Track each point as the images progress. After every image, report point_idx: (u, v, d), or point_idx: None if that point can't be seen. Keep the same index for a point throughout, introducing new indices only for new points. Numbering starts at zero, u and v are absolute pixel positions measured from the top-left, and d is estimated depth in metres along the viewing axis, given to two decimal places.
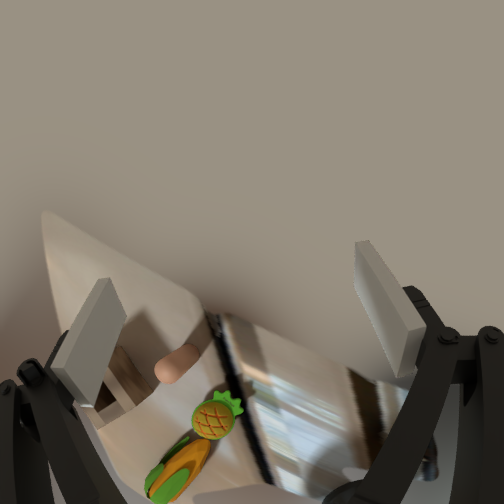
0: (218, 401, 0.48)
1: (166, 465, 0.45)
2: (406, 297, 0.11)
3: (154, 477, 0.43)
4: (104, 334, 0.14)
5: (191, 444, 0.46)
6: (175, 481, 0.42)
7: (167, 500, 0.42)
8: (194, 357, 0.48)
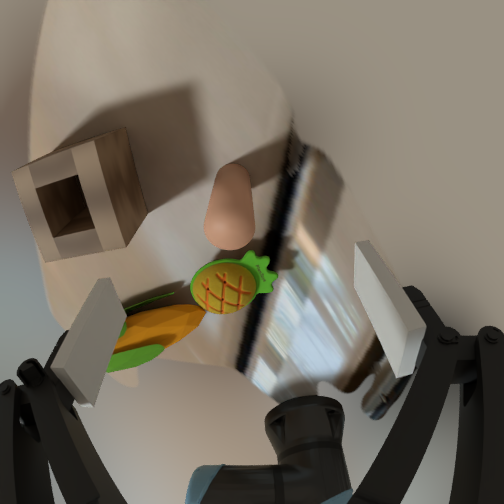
0: (246, 266, 0.35)
1: (129, 325, 0.37)
2: (406, 297, 0.11)
3: None
4: (104, 334, 0.14)
5: (178, 310, 0.36)
6: (138, 356, 0.35)
7: (114, 370, 0.37)
8: None
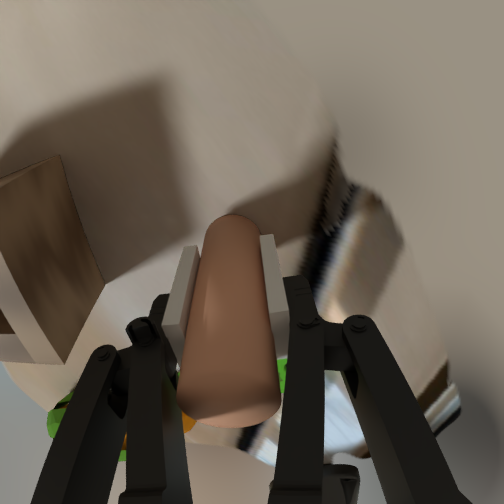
0: None
1: None
2: (281, 284, 0.13)
3: None
4: None
5: None
6: None
7: None
8: None
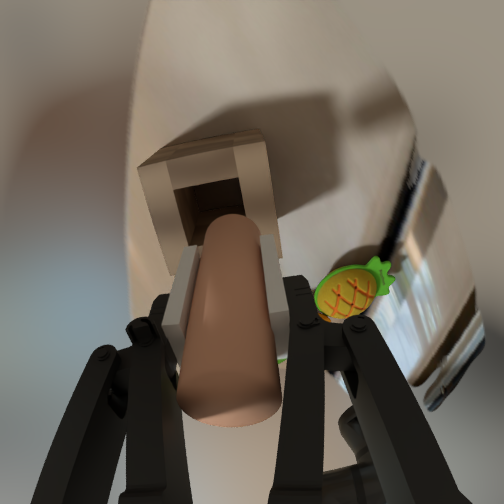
0: (371, 271, 0.35)
1: None
2: (281, 284, 0.13)
3: None
4: None
5: None
6: None
7: None
8: None
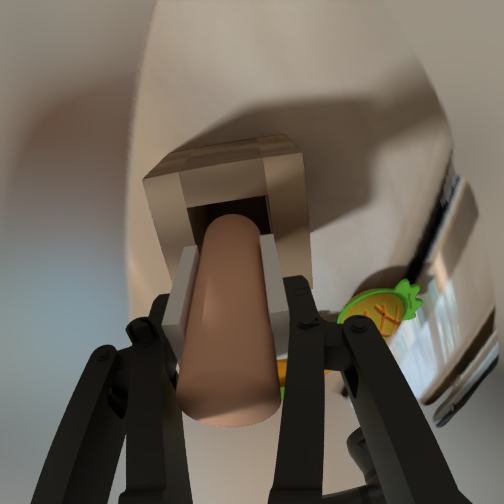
0: (399, 295, 0.31)
1: None
2: (281, 284, 0.13)
3: None
4: None
5: None
6: None
7: None
8: None
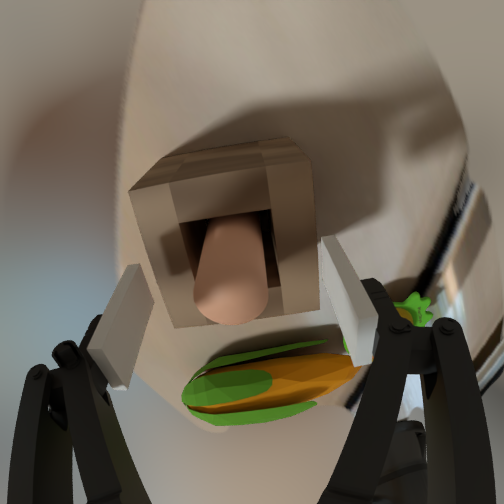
0: (409, 309, 0.28)
1: None
2: (362, 288, 0.12)
3: (242, 394, 0.28)
4: (136, 318, 0.15)
5: (337, 361, 0.30)
6: (281, 413, 0.29)
7: None
8: None
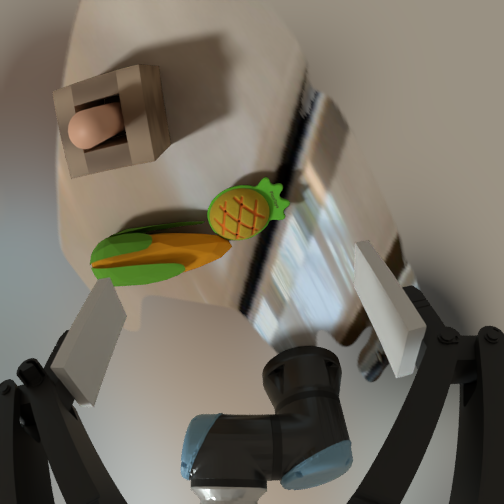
0: (261, 192, 0.37)
1: (152, 241, 0.39)
2: (406, 297, 0.11)
3: (127, 249, 0.37)
4: (104, 334, 0.14)
5: (207, 237, 0.39)
6: (155, 272, 0.37)
7: (119, 284, 0.39)
8: None
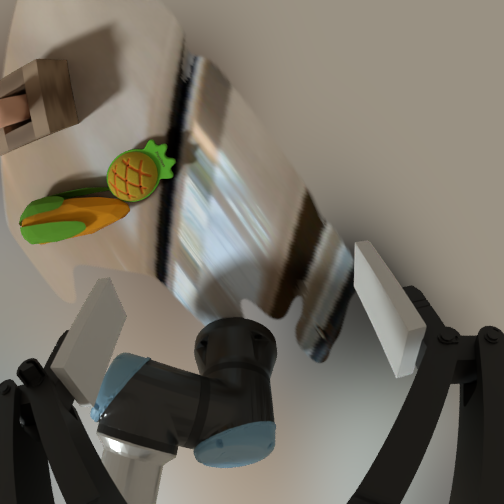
0: (148, 153, 0.38)
1: (65, 203, 0.39)
2: (406, 297, 0.11)
3: (43, 209, 0.37)
4: (104, 334, 0.14)
5: (109, 200, 0.40)
6: (62, 229, 0.38)
7: (37, 242, 0.39)
8: None
